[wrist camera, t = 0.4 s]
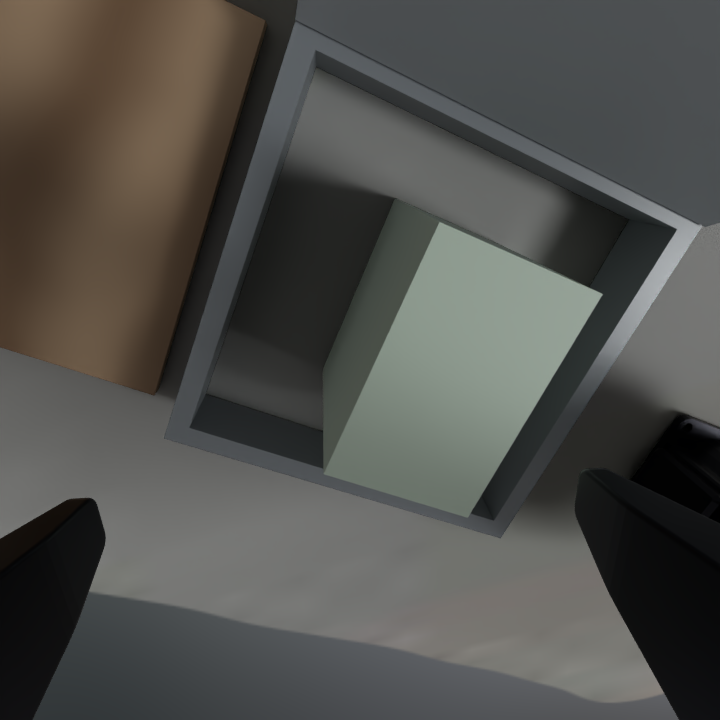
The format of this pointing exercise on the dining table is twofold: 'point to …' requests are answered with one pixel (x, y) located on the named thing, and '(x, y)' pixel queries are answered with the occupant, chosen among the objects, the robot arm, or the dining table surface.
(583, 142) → the equipment case
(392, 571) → the dining table surface
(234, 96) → the board
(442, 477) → the block
